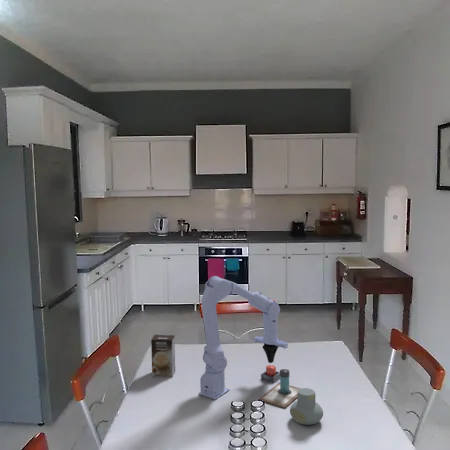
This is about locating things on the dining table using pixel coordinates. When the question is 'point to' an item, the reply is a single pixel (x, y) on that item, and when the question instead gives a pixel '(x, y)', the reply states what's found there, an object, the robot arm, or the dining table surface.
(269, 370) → the button
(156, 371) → the coffee box
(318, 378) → the dining table surface
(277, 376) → the button collar
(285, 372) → the marker
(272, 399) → the picture frame
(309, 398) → the air freshener
